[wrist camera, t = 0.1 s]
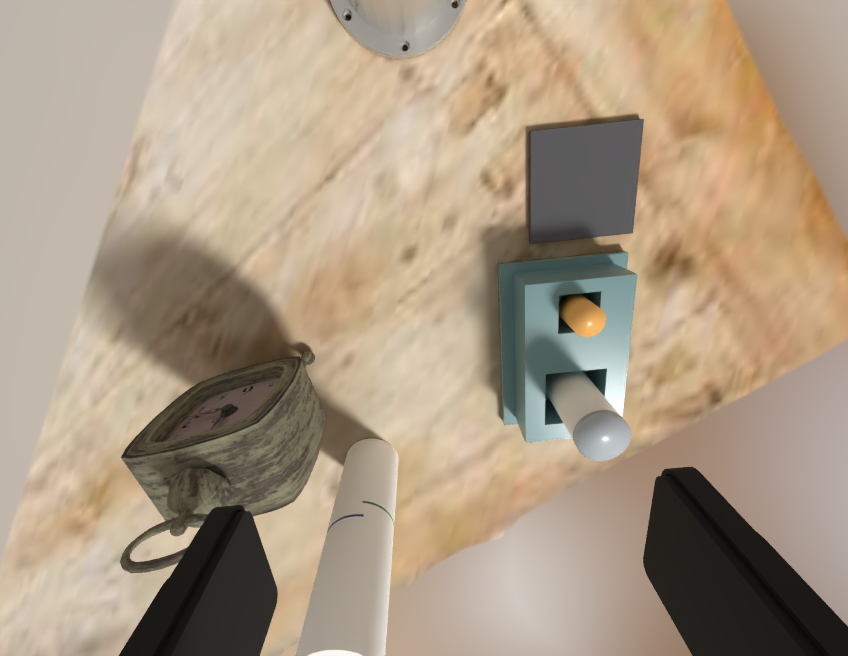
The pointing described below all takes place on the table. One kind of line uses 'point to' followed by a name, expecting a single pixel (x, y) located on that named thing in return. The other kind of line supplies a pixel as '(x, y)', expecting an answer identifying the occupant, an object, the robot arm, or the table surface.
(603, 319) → the orange egg shape
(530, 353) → the teal hollow block
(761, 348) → the table surface
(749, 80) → the table surface
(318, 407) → the tabletop clock
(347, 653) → the cylindrical container
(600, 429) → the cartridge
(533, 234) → the mat
